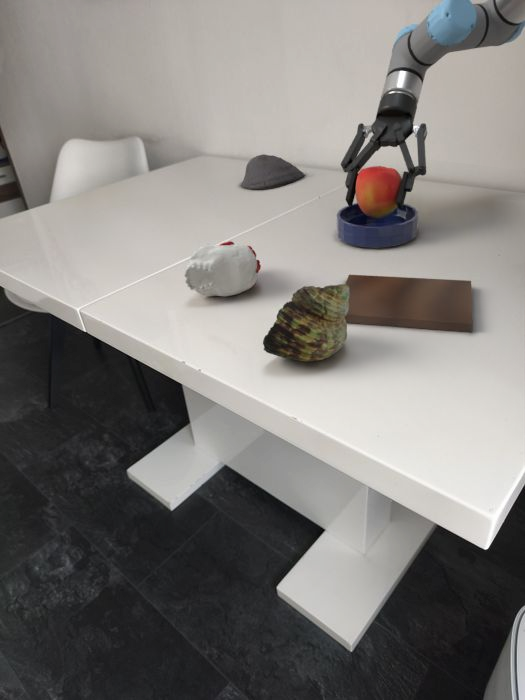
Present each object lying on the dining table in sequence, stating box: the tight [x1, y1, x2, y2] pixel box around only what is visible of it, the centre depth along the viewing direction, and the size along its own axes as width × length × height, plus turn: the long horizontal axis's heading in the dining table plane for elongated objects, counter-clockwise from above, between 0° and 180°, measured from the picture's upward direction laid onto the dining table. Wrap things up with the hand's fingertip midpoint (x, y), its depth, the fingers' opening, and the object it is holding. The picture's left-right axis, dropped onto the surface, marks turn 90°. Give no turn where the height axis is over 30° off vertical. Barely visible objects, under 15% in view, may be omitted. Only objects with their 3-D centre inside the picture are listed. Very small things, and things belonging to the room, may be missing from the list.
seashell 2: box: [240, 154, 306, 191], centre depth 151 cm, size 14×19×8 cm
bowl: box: [336, 202, 420, 249], centre depth 111 cm, size 16×16×4 cm
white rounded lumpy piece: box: [184, 240, 262, 297], centre depth 94 cm, size 9×11×15 cm
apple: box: [355, 165, 402, 219], centre depth 107 cm, size 10×10×10 cm
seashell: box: [262, 283, 350, 363], centre depth 74 cm, size 11×11×10 cm
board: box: [345, 274, 474, 333], centre depth 86 cm, size 20×14×2 cm
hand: (373, 204), depth 106 cm, fingers closed on apple, 9 cm apart
